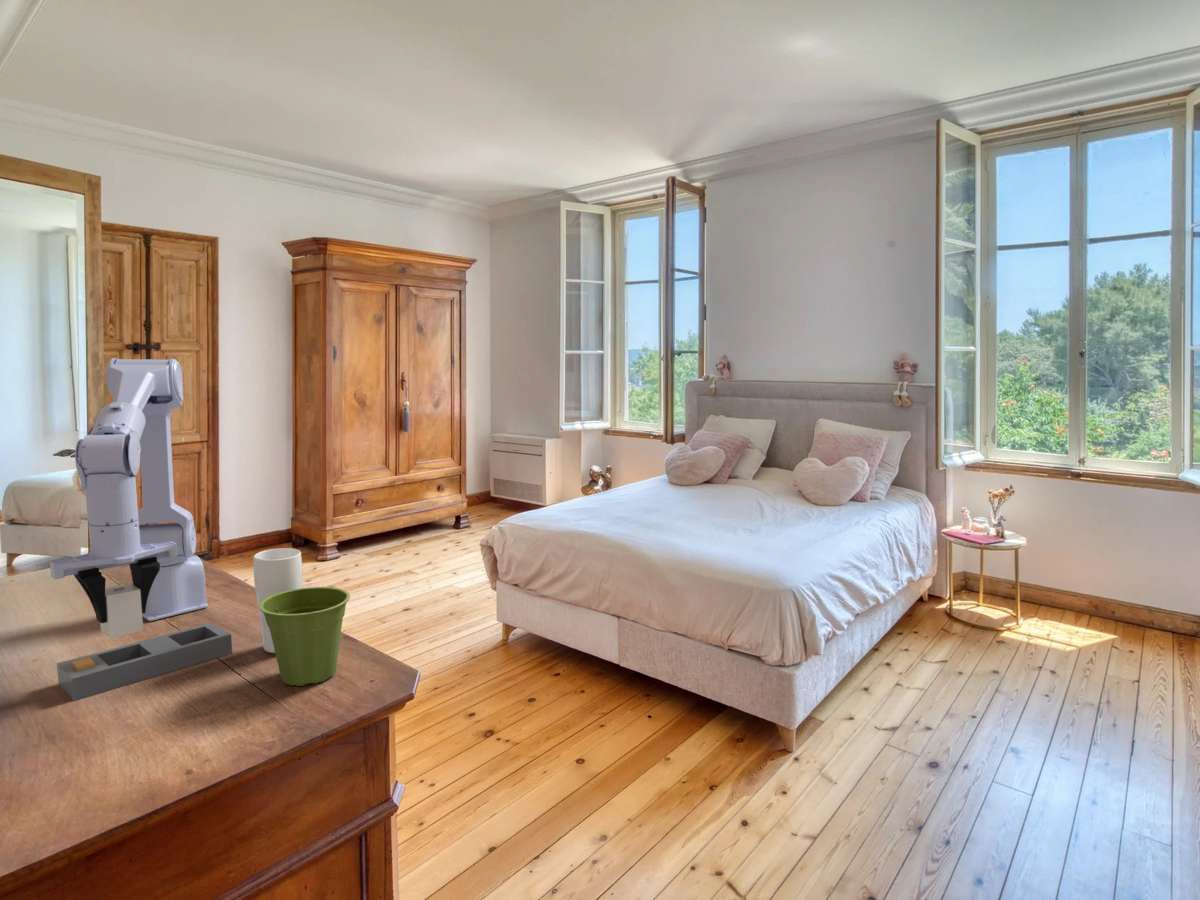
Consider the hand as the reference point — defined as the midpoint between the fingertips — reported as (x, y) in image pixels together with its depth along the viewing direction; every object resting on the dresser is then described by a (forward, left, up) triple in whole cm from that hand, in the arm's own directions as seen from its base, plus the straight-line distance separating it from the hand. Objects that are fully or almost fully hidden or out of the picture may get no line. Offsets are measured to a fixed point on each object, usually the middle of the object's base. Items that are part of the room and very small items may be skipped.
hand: (121, 616), depth 100 cm
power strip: (-3, 0, -9) cm, 9 cm away
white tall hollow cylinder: (-19, +7, -9) cm, 22 cm away
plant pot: (-17, +19, -9) cm, 27 cm away
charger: (0, 0, -2) cm, 2 cm away
